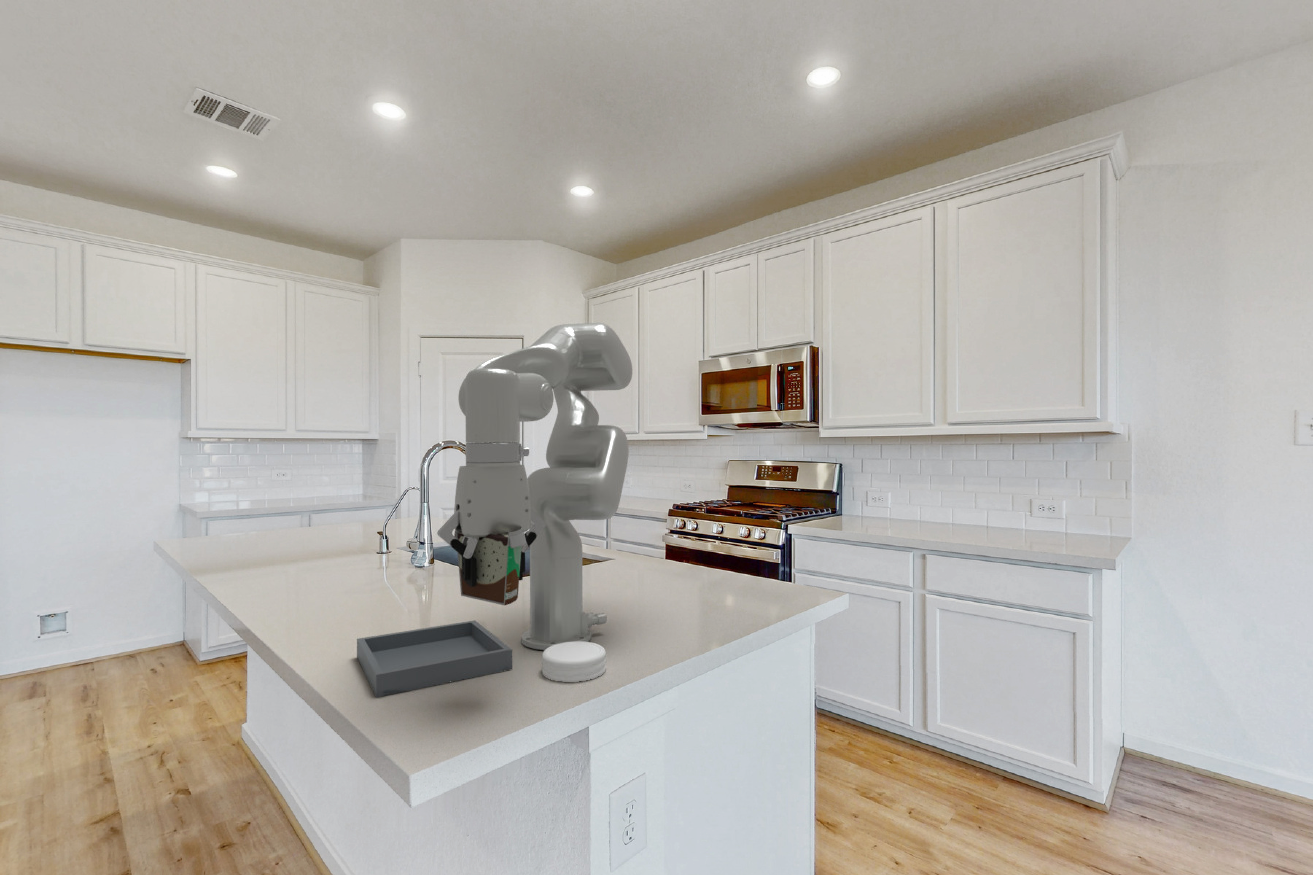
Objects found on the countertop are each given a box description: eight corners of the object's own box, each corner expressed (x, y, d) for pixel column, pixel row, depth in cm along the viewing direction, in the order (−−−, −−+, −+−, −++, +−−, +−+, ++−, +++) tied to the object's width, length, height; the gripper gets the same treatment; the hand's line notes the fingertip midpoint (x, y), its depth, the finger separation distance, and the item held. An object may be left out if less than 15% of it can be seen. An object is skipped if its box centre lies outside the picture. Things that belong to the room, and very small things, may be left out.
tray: (475, 637, 116) (475, 620, 116) (512, 669, 100) (512, 649, 100) (356, 657, 106) (356, 638, 106) (376, 697, 89) (376, 674, 89)
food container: (545, 597, 89) (544, 526, 89) (512, 607, 84) (511, 532, 84) (488, 585, 96) (487, 520, 96) (454, 594, 91) (453, 525, 91)
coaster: (575, 657, 106) (575, 636, 106) (618, 670, 100) (618, 648, 100) (528, 674, 98) (528, 651, 98) (572, 689, 92) (572, 665, 92)
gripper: (539, 454, 97) (540, 570, 97) (424, 456, 88) (425, 584, 88) (559, 455, 91) (560, 578, 91) (437, 457, 81) (438, 596, 81)
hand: (494, 580), depth 89 cm, fingers closed on food container, 6 cm apart
